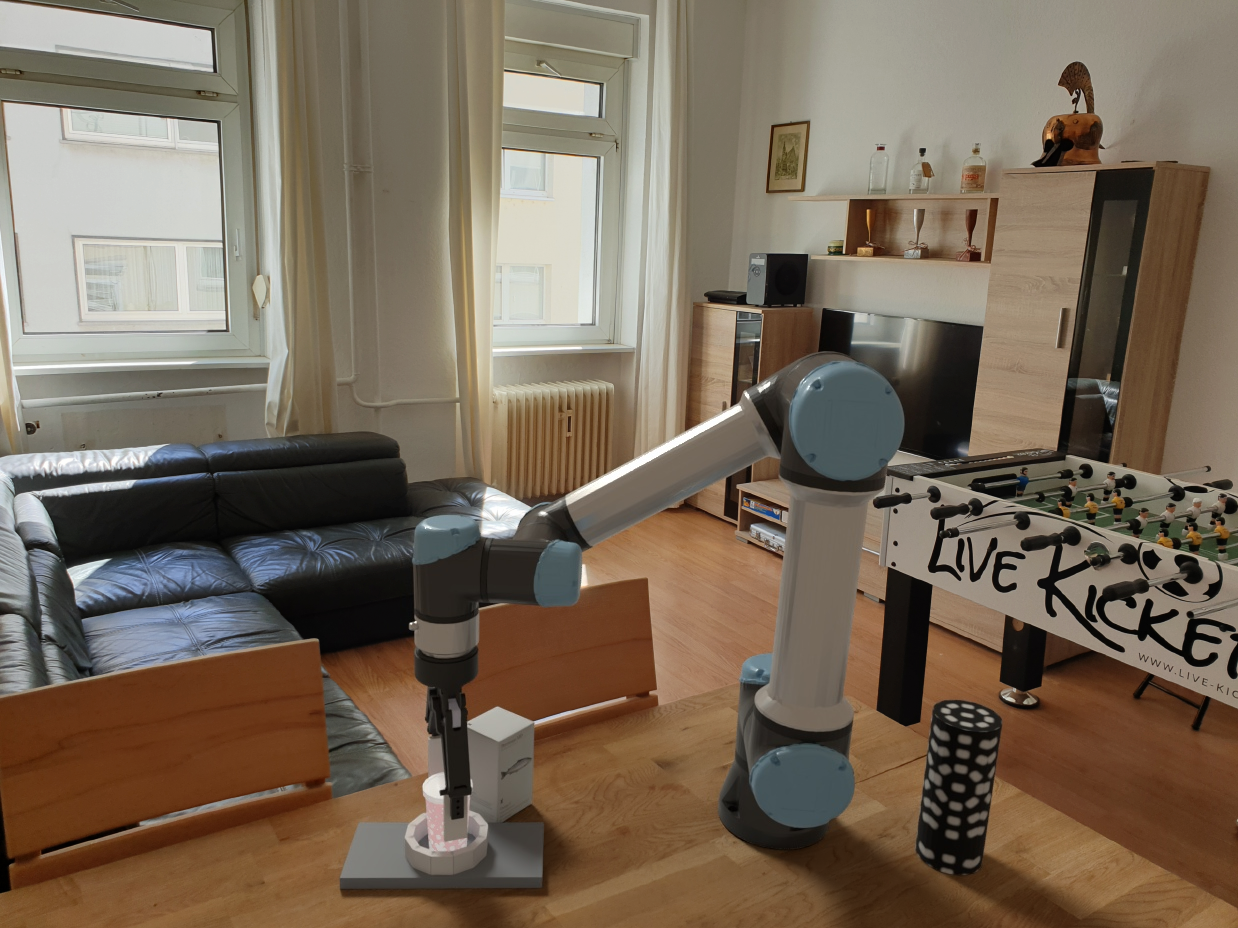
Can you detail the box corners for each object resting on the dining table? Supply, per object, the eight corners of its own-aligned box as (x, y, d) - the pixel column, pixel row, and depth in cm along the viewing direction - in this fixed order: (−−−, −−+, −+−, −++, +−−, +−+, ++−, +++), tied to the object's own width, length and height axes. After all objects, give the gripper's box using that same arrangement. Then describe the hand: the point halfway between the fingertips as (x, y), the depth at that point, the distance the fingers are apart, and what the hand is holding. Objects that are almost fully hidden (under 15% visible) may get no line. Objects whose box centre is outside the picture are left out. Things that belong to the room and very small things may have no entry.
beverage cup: (443, 871, 114) (442, 766, 111) (412, 848, 118) (411, 747, 115) (482, 849, 118) (483, 748, 115) (452, 828, 122) (452, 729, 119)
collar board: (543, 832, 125) (544, 805, 124) (541, 887, 114) (542, 858, 113) (359, 832, 123) (358, 805, 122) (339, 888, 112) (338, 859, 111)
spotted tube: (912, 864, 121) (930, 722, 117) (917, 828, 129) (934, 694, 124) (981, 882, 118) (1002, 737, 114) (982, 844, 126) (1002, 707, 121)
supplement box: (496, 828, 125) (497, 742, 122) (457, 807, 129) (457, 723, 126) (534, 804, 131) (536, 721, 128) (495, 784, 135) (496, 703, 132)
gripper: (402, 611, 122) (404, 763, 127) (429, 694, 100) (430, 874, 105) (460, 605, 124) (460, 755, 129) (499, 686, 102) (497, 862, 107)
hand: (446, 808), depth 117 cm, fingers open, 11 cm apart
